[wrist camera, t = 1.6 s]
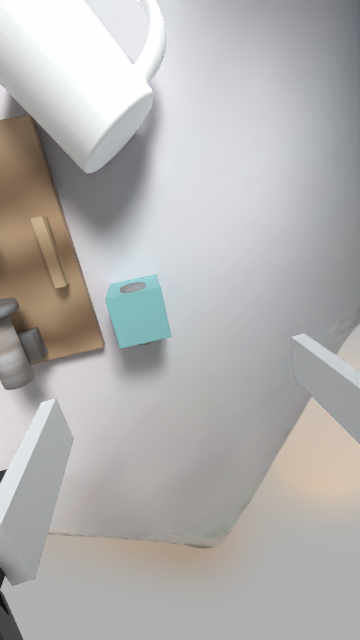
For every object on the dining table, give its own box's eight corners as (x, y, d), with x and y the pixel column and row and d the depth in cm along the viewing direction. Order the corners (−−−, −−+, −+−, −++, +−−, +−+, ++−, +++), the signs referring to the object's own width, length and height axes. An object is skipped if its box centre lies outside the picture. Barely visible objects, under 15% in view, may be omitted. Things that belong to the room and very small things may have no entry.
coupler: (110, 281, 30) (104, 295, 25) (155, 271, 31) (159, 283, 25) (123, 328, 32) (120, 351, 27) (165, 318, 33) (172, 339, 27)
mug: (93, 180, 27) (77, 166, 20) (-1, 81, 24) (-63, 20, 16) (184, 80, 25) (205, 24, 18) (98, -41, 22) (79, -173, 15)
